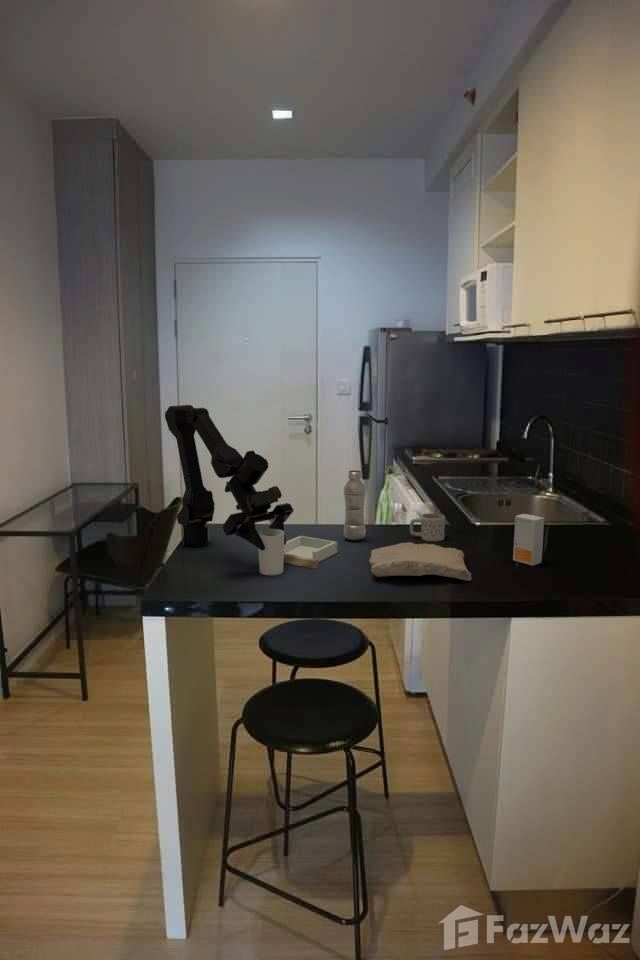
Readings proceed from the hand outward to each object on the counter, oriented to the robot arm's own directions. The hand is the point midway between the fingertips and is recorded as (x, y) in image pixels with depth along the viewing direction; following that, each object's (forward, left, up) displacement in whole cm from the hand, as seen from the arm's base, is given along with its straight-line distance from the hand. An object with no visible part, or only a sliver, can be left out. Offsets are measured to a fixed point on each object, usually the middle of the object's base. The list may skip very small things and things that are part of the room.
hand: (274, 546), depth 163 cm
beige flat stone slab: (+35, +1, -7) cm, 36 cm away
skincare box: (+64, +10, -7) cm, 65 cm away
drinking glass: (-1, +1, -7) cm, 7 cm away
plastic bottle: (+20, +30, -7) cm, 37 cm away
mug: (+41, +32, -7) cm, 53 cm away
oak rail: (+3, +8, -7) cm, 11 cm away
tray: (+7, +15, -7) cm, 18 cm away
